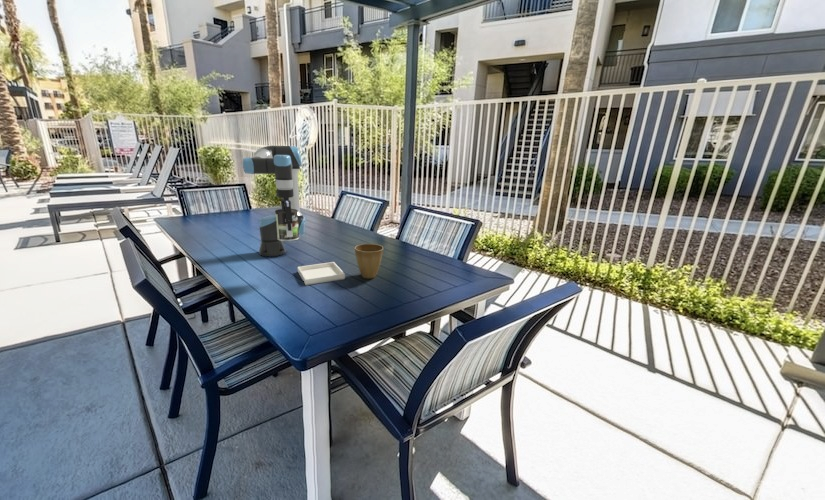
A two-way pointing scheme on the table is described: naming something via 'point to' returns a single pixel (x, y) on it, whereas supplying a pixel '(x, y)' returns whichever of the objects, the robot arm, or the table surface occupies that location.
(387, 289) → the table surface
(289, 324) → the table surface
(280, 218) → the coffee can
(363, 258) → the plant pot
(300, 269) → the tray
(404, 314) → the table surface
